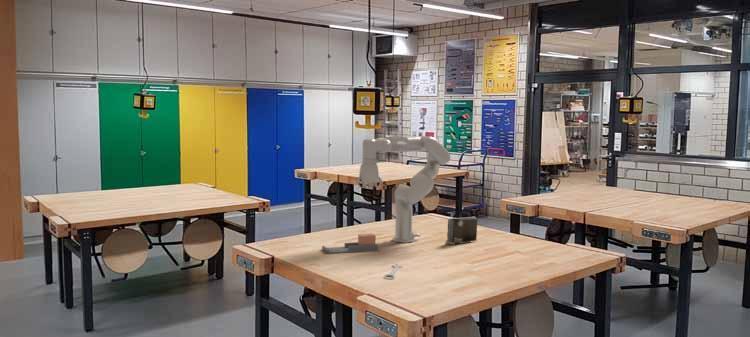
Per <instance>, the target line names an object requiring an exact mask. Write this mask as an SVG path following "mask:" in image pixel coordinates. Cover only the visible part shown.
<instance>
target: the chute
mask: <svg viewBox="0 0 750 337" xmlns="http://www.w3.org/2000/svg"><path fill="white" fill-rule="evenodd" d="M321 247H322V248H321V250H322V251H323V252H324V253H326V255H332V254H345V253H346V254H347V253H360V252H361V253H363V252H378V251H380V250H379V244H378V243H375V244H372V245H358V241H356V242H344V246H334V247H326V246H324V245H322V246H321Z"/></svg>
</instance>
